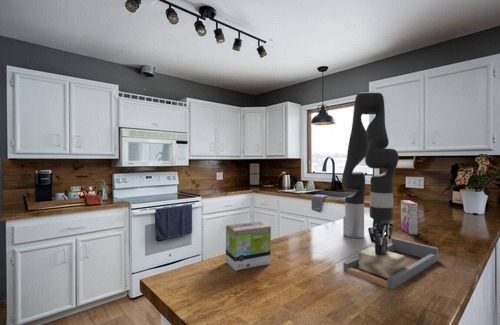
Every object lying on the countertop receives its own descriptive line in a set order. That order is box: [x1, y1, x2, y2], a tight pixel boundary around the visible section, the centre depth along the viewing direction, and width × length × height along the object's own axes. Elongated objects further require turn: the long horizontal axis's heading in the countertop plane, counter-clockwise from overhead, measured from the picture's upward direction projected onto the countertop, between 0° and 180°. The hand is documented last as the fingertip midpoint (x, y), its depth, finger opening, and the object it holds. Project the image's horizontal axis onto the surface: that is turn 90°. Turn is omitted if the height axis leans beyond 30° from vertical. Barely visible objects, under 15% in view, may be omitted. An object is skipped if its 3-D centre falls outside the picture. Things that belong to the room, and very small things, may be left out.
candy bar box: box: [400, 199, 419, 236], centre depth 143 cm, size 11×5×16 cm, turn 168°
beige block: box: [358, 236, 406, 279], centre depth 93 cm, size 12×9×12 cm
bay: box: [342, 237, 439, 290], centre depth 99 cm, size 17×38×5 cm, turn 127°
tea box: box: [225, 221, 272, 272], centre depth 102 cm, size 15×10×15 cm
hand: (381, 253), depth 93 cm, fingers closed on beige block, 3 cm apart
